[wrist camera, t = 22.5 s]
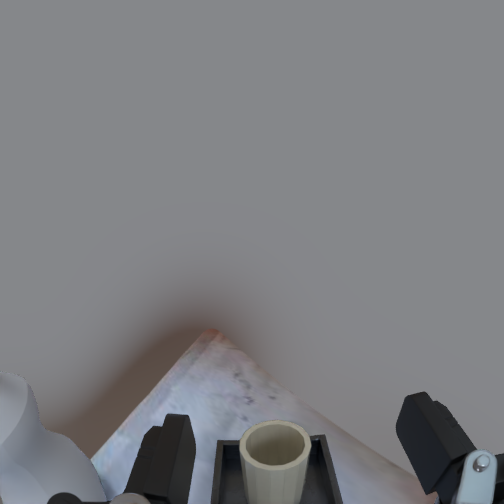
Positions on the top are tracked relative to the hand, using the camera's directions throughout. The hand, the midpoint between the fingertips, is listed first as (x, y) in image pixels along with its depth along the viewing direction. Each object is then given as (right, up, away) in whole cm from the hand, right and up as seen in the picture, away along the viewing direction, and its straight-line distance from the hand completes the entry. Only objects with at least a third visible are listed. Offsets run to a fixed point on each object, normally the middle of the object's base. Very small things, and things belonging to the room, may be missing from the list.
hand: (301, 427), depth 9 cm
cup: (+1, -22, +17) cm, 28 cm away
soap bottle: (-22, -26, +9) cm, 35 cm away
